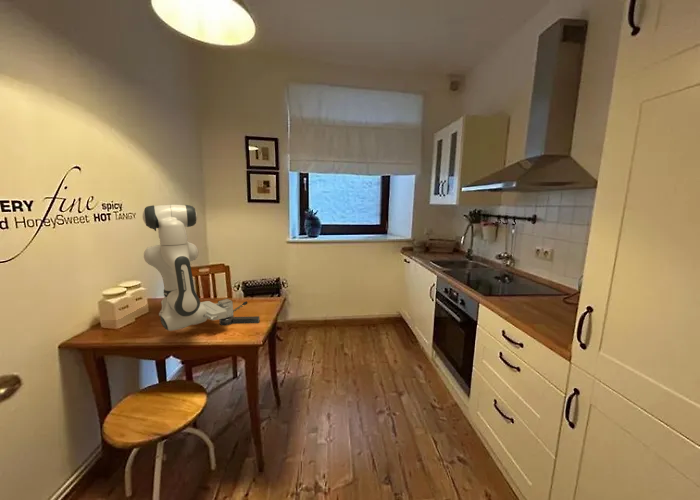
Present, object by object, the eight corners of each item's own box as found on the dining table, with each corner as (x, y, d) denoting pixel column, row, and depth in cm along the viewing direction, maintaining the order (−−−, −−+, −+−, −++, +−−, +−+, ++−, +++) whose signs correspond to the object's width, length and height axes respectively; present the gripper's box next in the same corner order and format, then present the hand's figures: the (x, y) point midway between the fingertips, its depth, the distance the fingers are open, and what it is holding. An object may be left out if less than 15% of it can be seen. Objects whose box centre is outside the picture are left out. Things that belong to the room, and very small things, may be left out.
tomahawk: (233, 318, 168) (233, 316, 168) (223, 316, 170) (223, 314, 169) (254, 304, 188) (254, 302, 188) (244, 302, 189) (244, 301, 189)
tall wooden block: (219, 315, 159) (217, 301, 158) (228, 313, 163) (227, 298, 162) (223, 318, 156) (222, 303, 154) (233, 315, 160) (232, 300, 158)
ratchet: (217, 325, 157) (216, 313, 155) (222, 320, 163) (221, 308, 162) (257, 324, 158) (256, 312, 156) (260, 319, 164) (259, 307, 163)
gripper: (208, 313, 142) (236, 305, 152) (190, 302, 155) (217, 295, 165) (209, 325, 143) (237, 317, 153) (191, 314, 156) (218, 307, 166)
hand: (227, 306), depth 159 cm, fingers closed on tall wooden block, 5 cm apart
